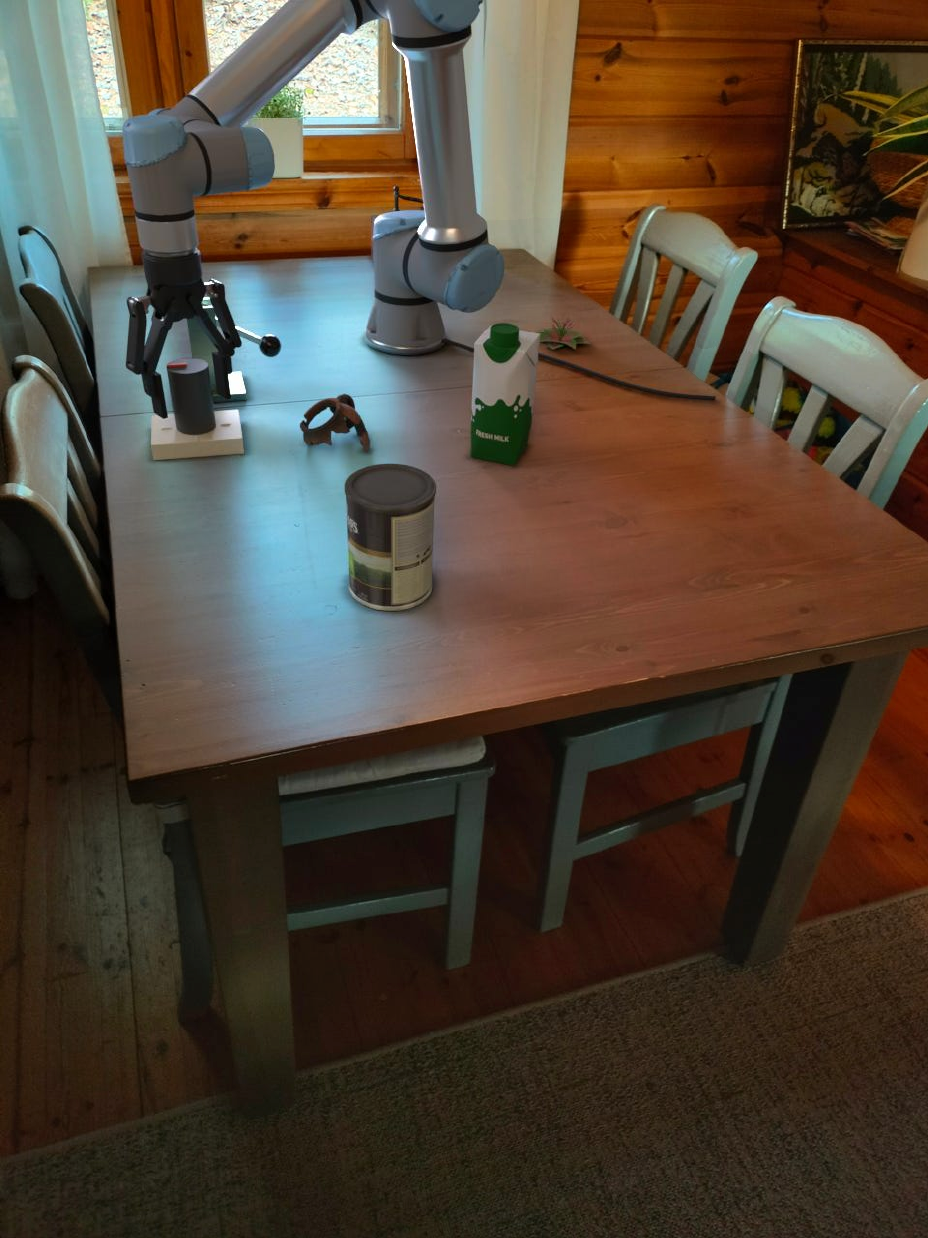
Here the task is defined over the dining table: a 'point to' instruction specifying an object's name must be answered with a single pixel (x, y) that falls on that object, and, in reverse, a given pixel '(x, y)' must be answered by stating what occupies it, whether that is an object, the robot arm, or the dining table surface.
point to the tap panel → (196, 438)
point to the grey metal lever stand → (204, 349)
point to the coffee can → (390, 535)
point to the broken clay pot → (334, 421)
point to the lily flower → (561, 336)
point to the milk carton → (503, 392)
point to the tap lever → (261, 341)
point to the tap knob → (191, 395)
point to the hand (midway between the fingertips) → (193, 405)
